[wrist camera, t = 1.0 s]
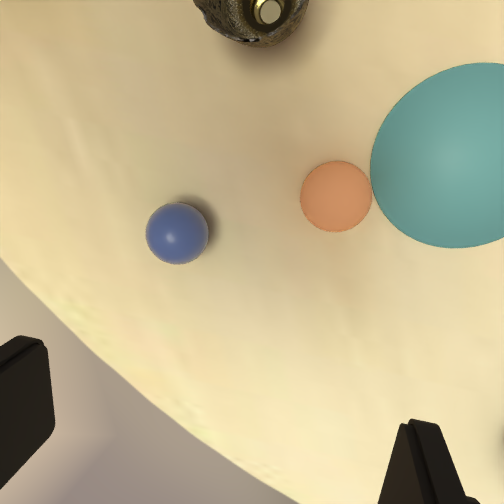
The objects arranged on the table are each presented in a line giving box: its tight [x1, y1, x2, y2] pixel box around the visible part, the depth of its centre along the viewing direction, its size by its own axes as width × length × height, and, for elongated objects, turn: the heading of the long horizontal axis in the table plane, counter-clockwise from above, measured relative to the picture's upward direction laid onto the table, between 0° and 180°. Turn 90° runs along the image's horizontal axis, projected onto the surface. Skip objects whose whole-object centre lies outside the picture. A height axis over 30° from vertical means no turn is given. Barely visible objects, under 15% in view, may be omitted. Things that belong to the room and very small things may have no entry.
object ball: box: [300, 161, 372, 232], centre depth 28 cm, size 6×6×6 cm
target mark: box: [370, 63, 504, 248], centre depth 28 cm, size 14×14×1 cm
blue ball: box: [146, 203, 209, 264], centre depth 32 cm, size 6×6×6 cm
